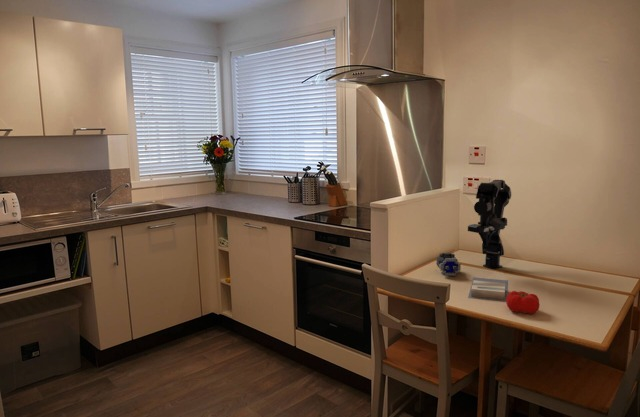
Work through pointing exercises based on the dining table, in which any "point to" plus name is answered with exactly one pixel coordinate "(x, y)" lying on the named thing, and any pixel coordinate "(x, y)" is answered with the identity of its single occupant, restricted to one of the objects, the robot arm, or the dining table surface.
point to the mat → (491, 281)
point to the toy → (448, 264)
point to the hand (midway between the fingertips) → (485, 245)
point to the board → (488, 289)
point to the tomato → (522, 302)
